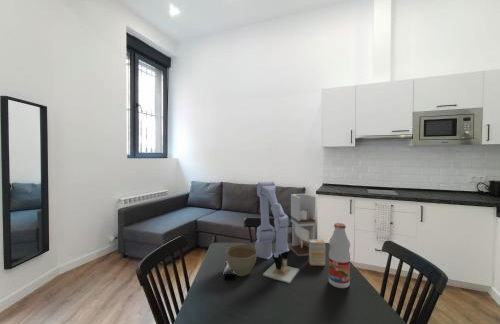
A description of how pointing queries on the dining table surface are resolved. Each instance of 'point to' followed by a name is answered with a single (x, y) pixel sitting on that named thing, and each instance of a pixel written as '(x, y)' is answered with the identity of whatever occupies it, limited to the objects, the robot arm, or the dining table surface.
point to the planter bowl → (241, 258)
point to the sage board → (285, 277)
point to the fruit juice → (339, 257)
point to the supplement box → (316, 252)
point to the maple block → (283, 267)
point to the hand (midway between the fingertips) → (281, 265)
